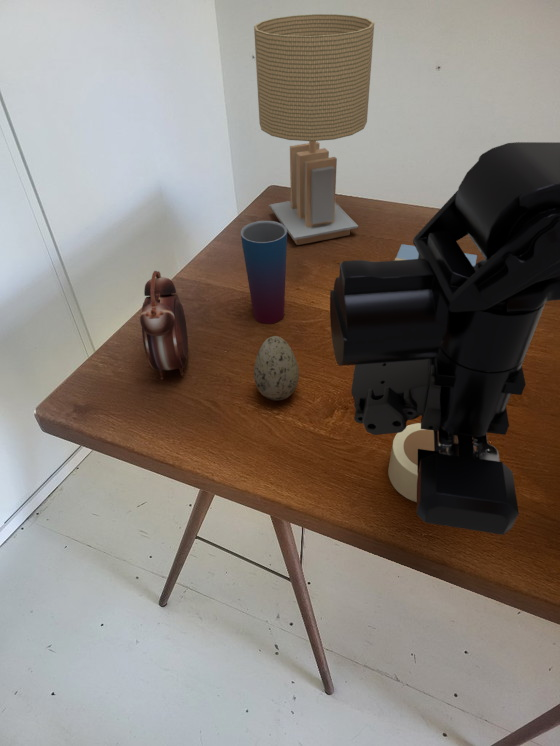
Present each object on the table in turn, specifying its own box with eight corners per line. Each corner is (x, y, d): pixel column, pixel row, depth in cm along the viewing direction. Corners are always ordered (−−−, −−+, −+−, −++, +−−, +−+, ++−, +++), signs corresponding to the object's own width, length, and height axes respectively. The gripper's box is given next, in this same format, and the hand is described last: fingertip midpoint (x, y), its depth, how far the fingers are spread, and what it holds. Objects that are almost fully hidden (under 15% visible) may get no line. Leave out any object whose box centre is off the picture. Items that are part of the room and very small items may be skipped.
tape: (461, 458, 63) (470, 431, 59) (453, 512, 57) (462, 487, 54) (395, 441, 65) (400, 415, 62) (381, 492, 60) (385, 466, 56)
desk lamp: (253, 213, 113) (240, 20, 89) (337, 199, 117) (345, 10, 93) (282, 256, 99) (274, 41, 75) (375, 238, 103) (396, 28, 80)
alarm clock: (160, 342, 81) (139, 258, 71) (190, 340, 81) (174, 255, 71) (154, 391, 73) (129, 303, 63) (188, 388, 73) (169, 300, 63)
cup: (289, 327, 83) (286, 242, 73) (247, 327, 83) (238, 243, 73) (289, 302, 88) (287, 219, 78) (249, 303, 88) (242, 220, 78)
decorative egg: (288, 415, 69) (286, 359, 62) (248, 402, 71) (242, 346, 64) (305, 386, 73) (305, 330, 66) (267, 375, 75) (263, 319, 68)
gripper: (373, 265, 44) (359, 396, 54) (349, 431, 30) (338, 561, 41) (512, 276, 42) (470, 409, 52) (552, 458, 28) (485, 587, 39)
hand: (441, 480), depth 46 cm, fingers open, 4 cm apart
